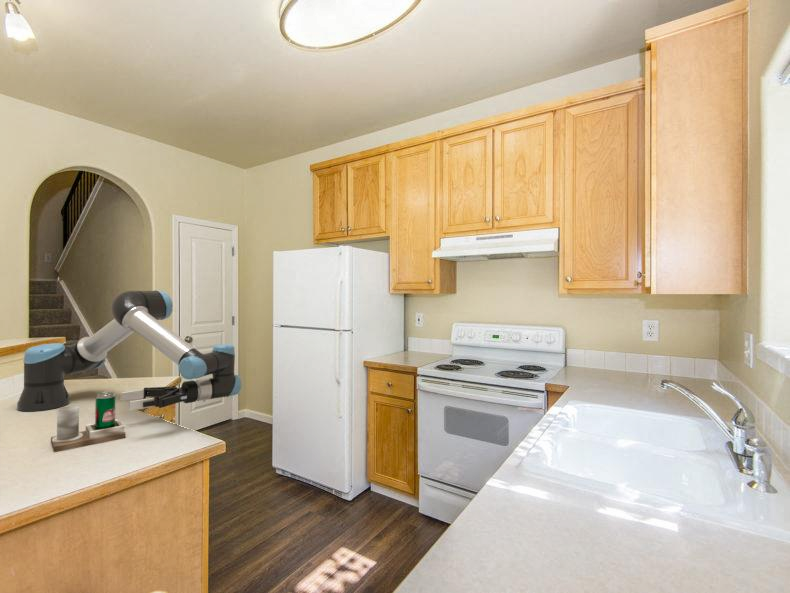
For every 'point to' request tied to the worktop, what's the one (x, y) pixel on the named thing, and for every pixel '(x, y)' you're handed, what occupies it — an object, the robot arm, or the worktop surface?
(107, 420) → the soda can
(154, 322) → the robot arm
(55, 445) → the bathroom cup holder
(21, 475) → the worktop surface
